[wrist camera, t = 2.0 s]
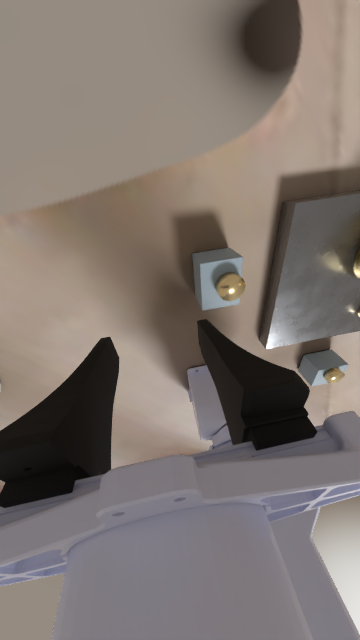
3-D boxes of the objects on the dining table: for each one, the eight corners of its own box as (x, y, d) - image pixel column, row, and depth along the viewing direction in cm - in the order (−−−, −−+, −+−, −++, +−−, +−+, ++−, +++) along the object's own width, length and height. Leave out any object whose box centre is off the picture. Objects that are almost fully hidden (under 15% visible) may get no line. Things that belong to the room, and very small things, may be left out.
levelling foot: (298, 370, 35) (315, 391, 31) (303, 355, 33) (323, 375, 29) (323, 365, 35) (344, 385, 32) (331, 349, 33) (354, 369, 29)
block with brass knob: (195, 295, 23) (204, 315, 19) (192, 253, 20) (202, 267, 16) (227, 290, 23) (243, 308, 20) (229, 247, 20) (247, 260, 17)
